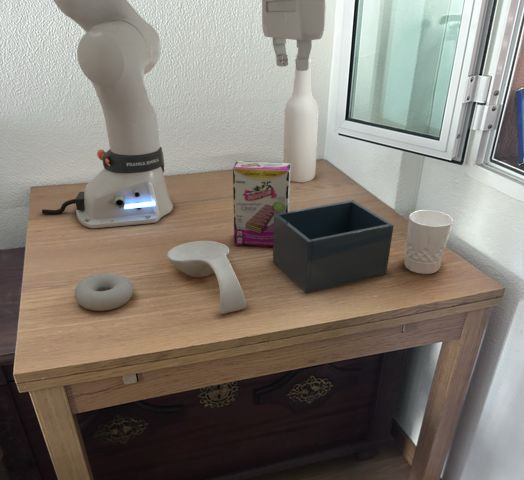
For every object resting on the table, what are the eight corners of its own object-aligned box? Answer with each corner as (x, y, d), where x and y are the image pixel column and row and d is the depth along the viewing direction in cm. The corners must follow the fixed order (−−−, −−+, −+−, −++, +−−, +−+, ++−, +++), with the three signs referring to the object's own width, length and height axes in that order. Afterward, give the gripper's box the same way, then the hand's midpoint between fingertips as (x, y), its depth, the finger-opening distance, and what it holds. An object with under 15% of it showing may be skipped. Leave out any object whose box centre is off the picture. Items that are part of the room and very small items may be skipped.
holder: (305, 293, 98) (308, 242, 92) (272, 262, 108) (273, 214, 102) (386, 274, 104) (393, 224, 98) (348, 246, 114) (353, 200, 108)
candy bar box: (233, 246, 113) (231, 167, 104) (237, 236, 117) (235, 159, 108) (287, 249, 113) (289, 169, 103) (288, 238, 117) (291, 161, 107)
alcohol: (278, 174, 151) (280, 53, 134) (306, 171, 154) (312, 51, 136) (291, 184, 145) (295, 58, 127) (320, 180, 147) (328, 56, 130)
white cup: (393, 261, 108) (400, 213, 102) (425, 254, 110) (434, 207, 105) (417, 279, 102) (426, 229, 96) (451, 271, 105) (462, 222, 99)
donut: (137, 285, 100) (81, 286, 99) (134, 268, 98) (78, 269, 97) (131, 314, 92) (70, 315, 91) (128, 296, 90) (66, 298, 89)
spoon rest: (161, 263, 107) (157, 228, 103) (216, 251, 111) (214, 218, 107) (203, 321, 90) (200, 283, 86) (266, 305, 94) (267, 268, 90)
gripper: (250, -23, 96) (256, 65, 103) (293, -30, 79) (296, 75, 87) (284, -25, 97) (287, 62, 105) (333, -33, 81) (332, 71, 88)
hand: (291, 68), depth 96 cm, fingers open, 8 cm apart
